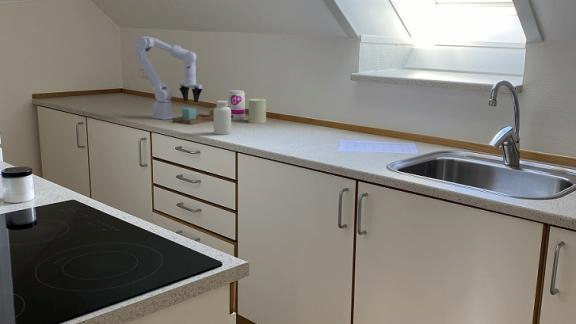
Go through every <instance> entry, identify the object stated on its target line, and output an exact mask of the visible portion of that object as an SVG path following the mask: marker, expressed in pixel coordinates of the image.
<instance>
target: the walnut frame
mask: <svg viewBox="0 0 576 324" xmlns="http://www.w3.org/2000/svg"><path fill="white" fill-rule="evenodd" d="M172 122H173V123H178V124H183V125H191V126H193V125H197V124H204V123H208V122H214V116H213V115H209V114H205V113H196V119H190V120H188V119H182V116H177V117H175V118H172Z"/></svg>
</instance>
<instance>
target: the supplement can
mask: <svg viewBox="0 0 576 324" xmlns="http://www.w3.org/2000/svg"><path fill="white" fill-rule="evenodd" d="M245 97H246V96H245V91H244V90H241V89H233V90H232V89H231V90H229V93H228V100H229V101H228V107H229V108H230V109H231V121H243V120H244V119H245V118H246V100H245V99H246V98H245Z"/></svg>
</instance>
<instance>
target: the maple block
mask: <svg viewBox="0 0 576 324" xmlns="http://www.w3.org/2000/svg"><path fill="white" fill-rule="evenodd" d="M214 108H215V107H212V108H208V110H209V112H208V115H213V116H214Z"/></svg>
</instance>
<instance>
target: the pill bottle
mask: <svg viewBox="0 0 576 324" xmlns="http://www.w3.org/2000/svg"><path fill="white" fill-rule="evenodd" d="M215 105H216V106H215V107H213V108H214V121H213V134H215V135H219V136H221V135H223V136H226V135H230V134H232V120H231V109H230V108H229V101H228V100H217V101H215Z"/></svg>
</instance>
